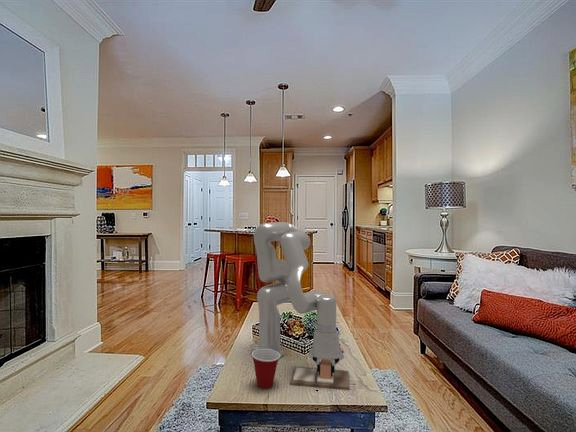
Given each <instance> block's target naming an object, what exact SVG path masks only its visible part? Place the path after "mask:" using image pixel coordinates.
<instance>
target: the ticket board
mask: <svg viewBox="0 0 576 432" xmlns="http://www.w3.org/2000/svg"><path fill="white" fill-rule="evenodd" d="M317 378H318V372H317V367H303V366H294V368H293V371H292V375H291V377H290V382H289V385H290V386H298V387H310V388H323V389H333V390H343V391H345V390H346V391H350V374H349V370H341V369H335V372H334V377H333V384H331V383H320V382H317Z"/></svg>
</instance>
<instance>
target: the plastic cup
mask: <svg viewBox="0 0 576 432" xmlns="http://www.w3.org/2000/svg"><path fill="white" fill-rule="evenodd" d="M251 356H252V360H253V367H254V372H255V378H256V384H257V387H258V388H259V389H262V390H263V389H264V390H265V389H266V390H267V389H270V388H272V387H273V385H274V381H275V376H276V370H277V365H278V362H279V358H280V354H279V352H277V351H275V350H271V349H257V350H252V351H251ZM280 359H281V358H280Z"/></svg>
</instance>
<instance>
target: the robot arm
mask: <svg viewBox="0 0 576 432" xmlns="http://www.w3.org/2000/svg"><path fill="white" fill-rule="evenodd" d="M272 242H279V245H280V247H281V251H282V254H283V256H284V259H283V258H282V259H281V258H280V259H279V258H277V256H276V255H277V254H276V248H275V247H274V245H273V244H272ZM253 243H254V247H255V250H256V261H257V270H258V271H257V272H258V278H259V280H260V281H261V282H262V283H270V282H271V284H267V285H265V286H262V287H260V288H259V289H258V291H257V294H256V299H257V307H258V341H259V342H258V343H257V344H254V343H250V344H249V348H250V350H251V351H255V350H257V349H271V350H275V351H277V352H279V354H280V358H279V359H281V358H283V356H284V351H283V349H281V314H280V311H279V309H278V307H277V306H279V305H282V304H285V303H288V302H290V303H291V305H292V308H293V309H294V310H295V312H297V313H298V314H303V315H304V314H308V313H310V312H313V311H316V322H315V323H312V328H315V330H314V332H313V339H312V347H311V349H310V351H308V353H307V355H308V357H309V358H311V359H312V360H313V362H315V364H316V368H317V372H319V375H320V364H321V359H331V376H333V373H334V372H335V370H336V369H335V366H336V365H337V364H338V363H339V362H340V361H342V360H343V359H345V355H344V353H342V352H341V350H342V349H341V348H340V349H341V350H340V349H339V347H340V346H339V344H340V338H339V336H338V331H337V330H336V327H337V298H336V296H334V295H332V294H327V293H324V292H322V291H319V290H311V291H307V292H303V289H302V284H301V280H302V276H303V274H304V272H305V271H306V270H307V269H308V268H309V265H310V264H309V261H308V258H307V255H306V253H305V251H306V250H309V247H310V246H311V238H310V236H309V235H308V233H307V232H305V231H304V230H303V229H301V228H299V227H297V226H295V225H293V224H291V223H290V222H287V221H282V222H281V221H278V222H277V221H273V222H270V221H269V222H264V223H261V224H259V225H258V226H257V227H256V228H255V230H254V233H253ZM272 282H275V283H272Z"/></svg>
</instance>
